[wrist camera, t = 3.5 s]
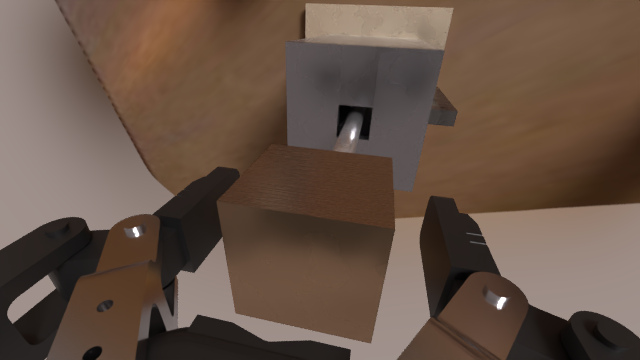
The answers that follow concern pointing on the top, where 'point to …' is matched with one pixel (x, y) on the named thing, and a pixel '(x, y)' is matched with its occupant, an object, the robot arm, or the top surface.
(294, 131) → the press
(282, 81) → the top surface
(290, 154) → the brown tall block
